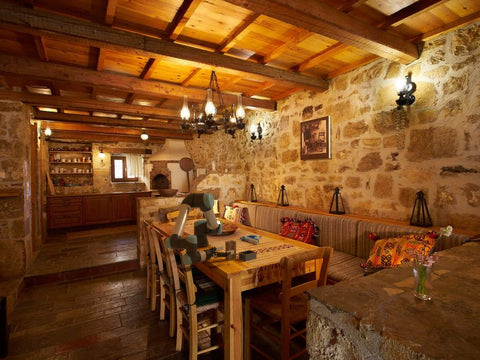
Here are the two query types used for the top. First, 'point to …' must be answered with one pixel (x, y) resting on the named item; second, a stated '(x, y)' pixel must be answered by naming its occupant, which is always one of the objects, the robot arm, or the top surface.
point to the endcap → (247, 255)
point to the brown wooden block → (230, 249)
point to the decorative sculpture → (251, 239)
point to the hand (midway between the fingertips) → (228, 249)
